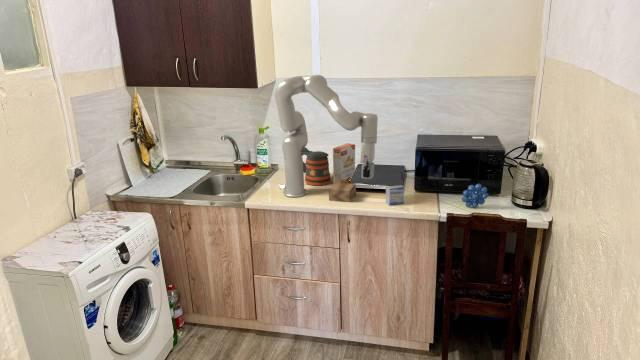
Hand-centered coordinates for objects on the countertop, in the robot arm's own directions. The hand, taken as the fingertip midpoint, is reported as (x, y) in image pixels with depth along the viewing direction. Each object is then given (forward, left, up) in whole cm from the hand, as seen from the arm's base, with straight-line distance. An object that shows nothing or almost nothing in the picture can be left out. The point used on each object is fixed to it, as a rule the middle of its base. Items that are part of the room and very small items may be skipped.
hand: (367, 175), depth 233 cm
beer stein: (-36, +21, -13) cm, 44 cm away
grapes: (+51, +3, -13) cm, 53 cm away
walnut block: (-13, 0, -13) cm, 19 cm away
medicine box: (+14, -1, -13) cm, 19 cm away
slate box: (0, 0, -1) cm, 1 cm away
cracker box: (-19, +24, -13) cm, 33 cm away
